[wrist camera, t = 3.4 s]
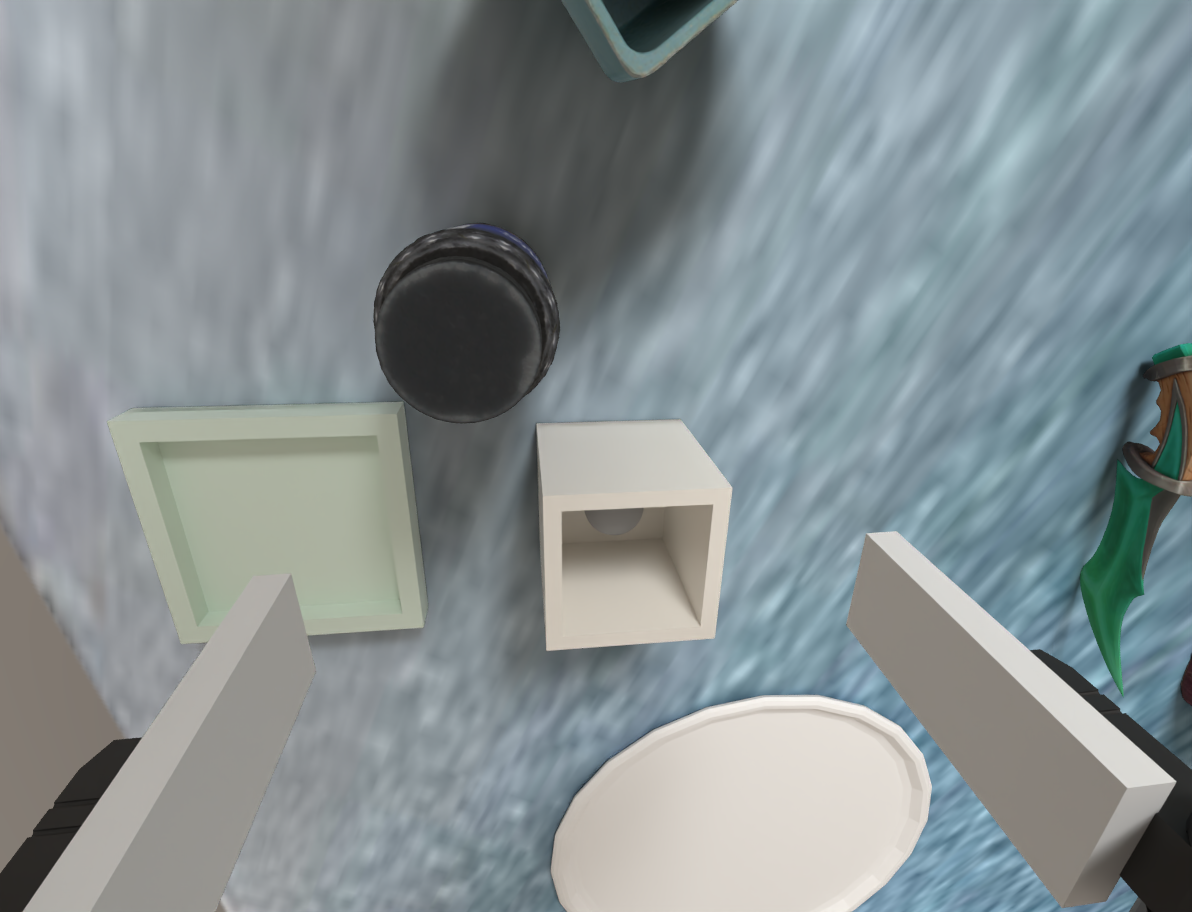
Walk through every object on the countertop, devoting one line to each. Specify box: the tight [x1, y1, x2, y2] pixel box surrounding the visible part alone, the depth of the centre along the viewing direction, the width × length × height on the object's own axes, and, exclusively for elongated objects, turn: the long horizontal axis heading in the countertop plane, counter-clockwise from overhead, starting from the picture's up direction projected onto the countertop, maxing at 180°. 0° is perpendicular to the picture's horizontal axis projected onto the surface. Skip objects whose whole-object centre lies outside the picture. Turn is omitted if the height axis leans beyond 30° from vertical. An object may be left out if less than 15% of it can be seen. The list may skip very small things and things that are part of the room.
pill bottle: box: [373, 223, 560, 423], centre depth 22 cm, size 6×6×11 cm
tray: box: [107, 402, 428, 644], centre depth 29 cm, size 12×12×2 cm
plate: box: [551, 695, 932, 912], centre depth 44 cm, size 29×29×1 cm
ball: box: [584, 508, 644, 535], centre depth 29 cm, size 3×3×3 cm
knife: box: [1080, 343, 1192, 698], centre depth 34 cm, size 21×2×5 cm, turn 4°
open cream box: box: [536, 419, 732, 651], centre depth 28 cm, size 7×7×8 cm
